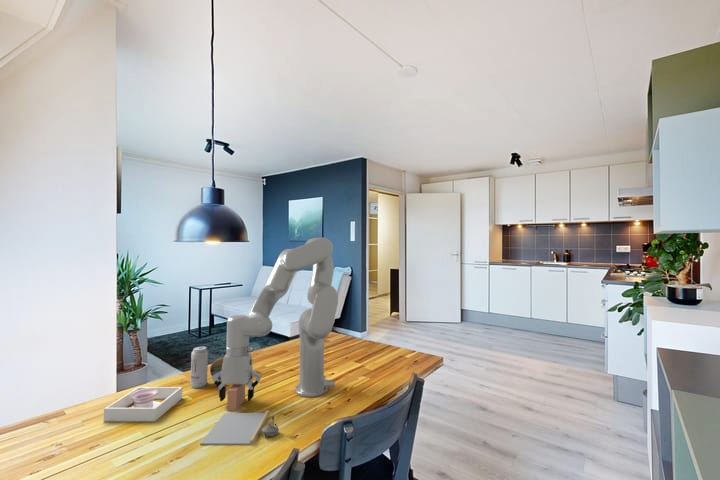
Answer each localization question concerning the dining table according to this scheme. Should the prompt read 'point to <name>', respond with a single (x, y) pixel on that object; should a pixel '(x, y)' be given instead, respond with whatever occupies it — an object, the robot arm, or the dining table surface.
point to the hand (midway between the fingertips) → (236, 399)
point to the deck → (235, 397)
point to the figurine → (270, 429)
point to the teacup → (144, 398)
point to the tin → (216, 367)
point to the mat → (236, 429)
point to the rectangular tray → (121, 413)
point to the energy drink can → (199, 367)
